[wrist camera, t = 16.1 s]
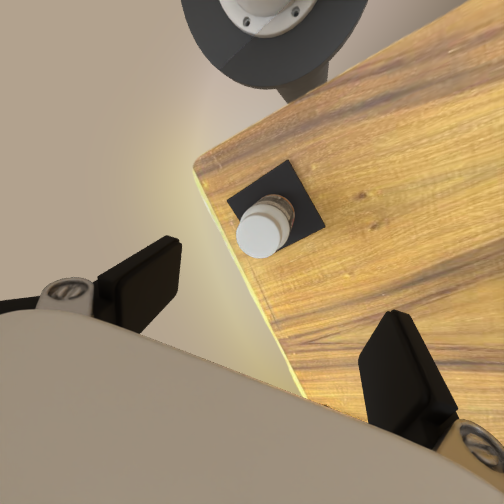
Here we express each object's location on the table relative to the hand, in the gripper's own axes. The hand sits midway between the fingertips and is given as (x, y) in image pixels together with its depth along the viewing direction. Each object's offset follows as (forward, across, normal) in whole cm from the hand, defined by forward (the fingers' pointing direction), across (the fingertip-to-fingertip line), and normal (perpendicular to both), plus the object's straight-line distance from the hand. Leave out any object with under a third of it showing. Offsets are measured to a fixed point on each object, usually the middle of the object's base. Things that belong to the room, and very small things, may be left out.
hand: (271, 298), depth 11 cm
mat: (+24, +3, +3) cm, 24 cm away
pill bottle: (+24, +3, +3) cm, 24 cm away
